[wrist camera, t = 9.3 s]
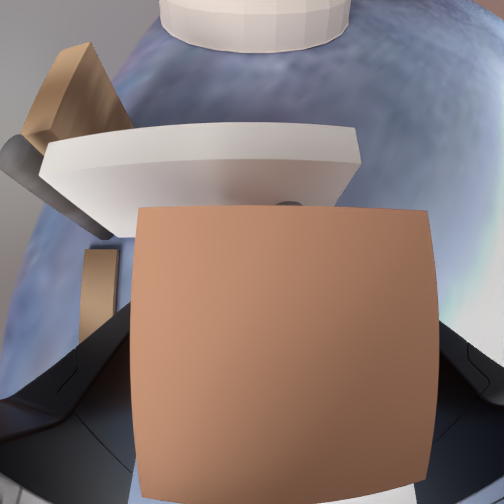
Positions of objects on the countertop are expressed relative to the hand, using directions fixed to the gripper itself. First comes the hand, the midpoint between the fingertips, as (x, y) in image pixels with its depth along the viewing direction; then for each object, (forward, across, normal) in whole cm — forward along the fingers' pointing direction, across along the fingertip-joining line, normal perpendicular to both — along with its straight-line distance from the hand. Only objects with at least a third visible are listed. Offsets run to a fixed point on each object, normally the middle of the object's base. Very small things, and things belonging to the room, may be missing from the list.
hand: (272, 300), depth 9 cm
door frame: (+7, +10, +4) cm, 13 cm away
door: (+8, +3, +2) cm, 9 cm away
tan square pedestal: (+5, 0, +7) cm, 8 cm away
